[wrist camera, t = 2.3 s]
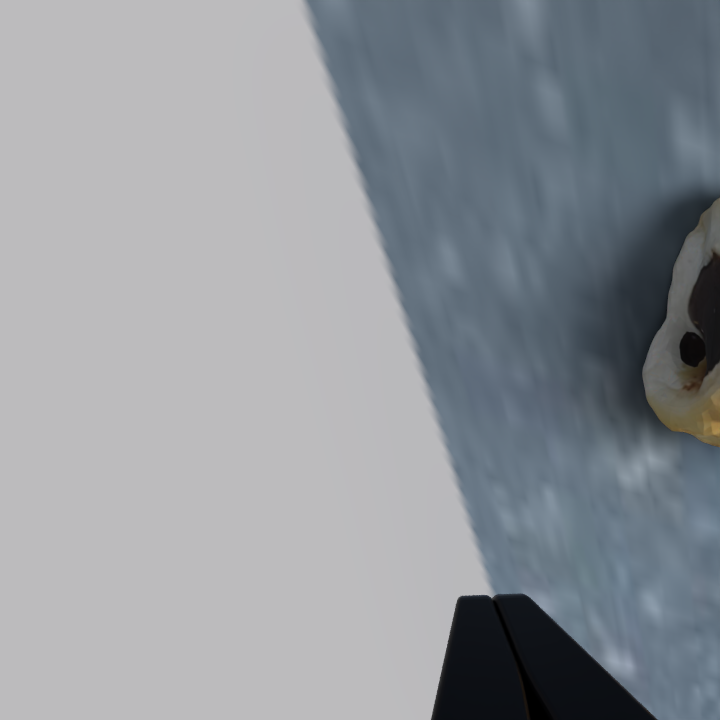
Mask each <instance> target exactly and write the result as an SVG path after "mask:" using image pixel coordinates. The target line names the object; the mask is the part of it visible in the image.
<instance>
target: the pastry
mask: <svg viewBox="0 0 720 720" xmlns="http://www.w3.org/2000/svg"><path fill="white" fill-rule="evenodd" d="M642 377H643V382H644V387H645V393H646V398H647V401H648V403H649V405H650V406H651V408H652V409H653V410H654V412H655V413H656V415H657V417H658V418H659V420H660V421H661V422H662V423H663V424H664V425H666V426H667V427H668V428H669V429H670V430H671V431H679V432H685V433H688V434H692V435H693V436H695V437H696V438H697V439H698V440H700V441H702V442H704V443H708V444H710V445H713V446H717V447H720V198H718V199H717V200H716V201H714V202H713V204H712V205H711V207H710V208H709V209H707V210H706V211H704V212H703V214H702V215H701V217H700V221H699V224H698V226H697V227H696V228H695V229H694V230H693V231H692V232H690V233H689V234H688V235H687V237H686V239H685V241H684V244H683V246H682V249H681V251H680V254H679V256H678V258H677V259H676V262H675V265H674V267H673V279H672V283H671V286H670V290H669V294H668V305H667V318H666V320H665V322H664V324H663V325H662V327H661V328H660V330H659V331H658V332H657V334H656V335H655V337H654V339H653V341H652V343H651V346H650V349H649V351H648V354H647V357H646V361H645V364H644V366H643V371H642Z"/></svg>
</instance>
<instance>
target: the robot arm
mask: <svg viewBox="0 0 720 720" xmlns="http://www.w3.org/2000/svg"><path fill="white" fill-rule="evenodd" d="M431 720H657V719H656V718H655V717H654V716H653V715H652V714H651V713H650V712H649V711H648V710H647V709H646V708H645V707H644V706H643V705H642V704H641V703H640V702H638V701H637V700H636V699H635V698H634V697H633V696H632V695H631V694H630V693H629V692H628V691H627V690H626V689H625V688H624V687H623V686H622V685H621V684H620V683H619V682H618V681H617V680H615V679H614V678H613V677H612V676H611V675H610V674H609V673H608V672H607V671H606V670H605V669H604V668H603V667H602V666H601V665H600V664H599V663H598V662H597V661H596V660H595V659H594V658H592V657H591V656H590V655H589V654H588V653H587V652H586V651H585V650H584V649H583V648H582V647H581V646H580V645H579V644H578V643H577V642H576V641H575V640H574V639H573V638H572V637H571V636H569V635H568V634H567V633H566V632H565V631H564V630H563V629H562V628H561V627H560V626H559V625H558V624H557V623H556V622H555V621H554V620H553V619H552V618H551V617H550V616H549V615H548V614H546V613H545V612H544V611H543V610H542V609H541V608H540V607H539V606H538V605H537V604H536V603H535V602H534V601H533V600H532V599H531V598H530V597H528V596H527V595H525V594H498V595H495V596H494V597H493V598H491V597H489V596H488V595H473V596H461V597H459V598H458V600H457V604H456V608H455V612H454V617H453V622H452V626H451V630H450V635H449V640H448V644H447V649H446V654H445V658H444V663H443V667H442V672H441V677H440V681H439V686H438V690H437V695H436V700H435V704H434V709H433V714H432V718H431Z"/></svg>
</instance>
